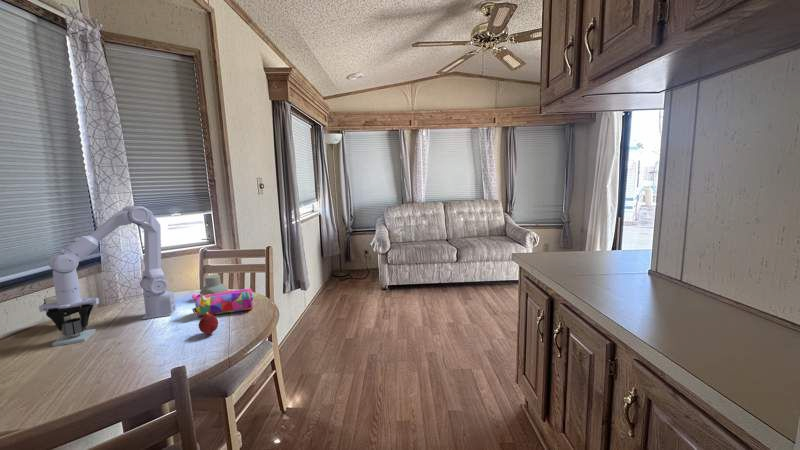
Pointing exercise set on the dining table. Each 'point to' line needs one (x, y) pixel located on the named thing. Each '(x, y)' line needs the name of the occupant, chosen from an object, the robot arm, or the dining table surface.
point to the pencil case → (224, 302)
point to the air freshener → (213, 285)
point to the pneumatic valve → (67, 311)
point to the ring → (72, 326)
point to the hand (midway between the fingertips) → (73, 327)
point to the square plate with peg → (74, 338)
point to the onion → (208, 323)
